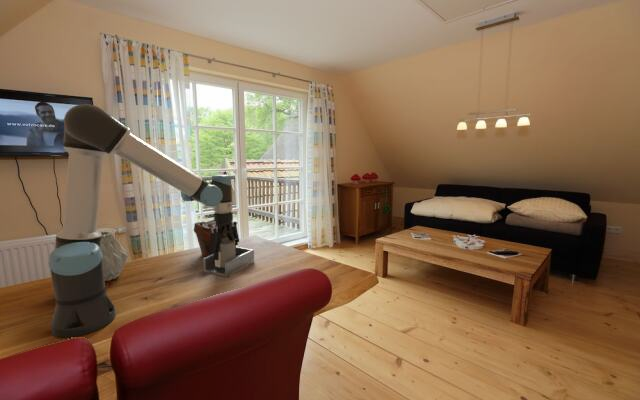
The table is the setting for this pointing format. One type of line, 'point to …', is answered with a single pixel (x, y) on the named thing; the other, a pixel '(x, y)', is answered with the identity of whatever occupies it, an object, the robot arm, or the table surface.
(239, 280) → the table surface
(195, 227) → the case
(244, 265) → the silver open box
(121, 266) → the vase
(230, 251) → the cup
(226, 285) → the table surface
